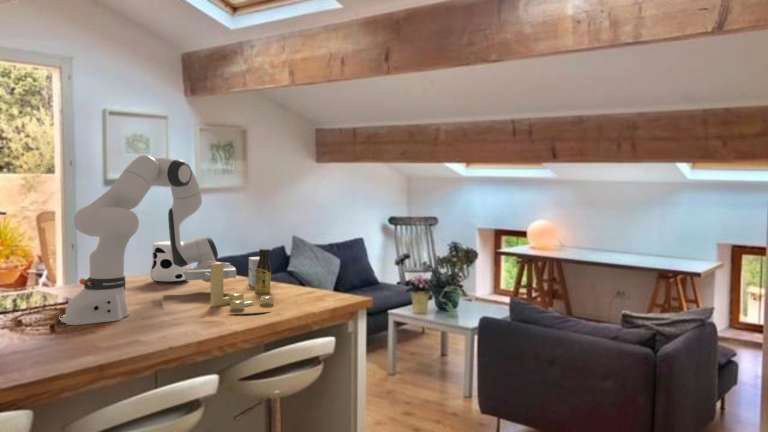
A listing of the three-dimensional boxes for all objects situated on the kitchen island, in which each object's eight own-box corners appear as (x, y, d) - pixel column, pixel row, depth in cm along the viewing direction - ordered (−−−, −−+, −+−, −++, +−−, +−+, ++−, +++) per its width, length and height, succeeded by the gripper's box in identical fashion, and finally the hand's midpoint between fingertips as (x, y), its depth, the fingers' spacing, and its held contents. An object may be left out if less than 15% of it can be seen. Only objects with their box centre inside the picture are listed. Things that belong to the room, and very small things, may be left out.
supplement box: (248, 284, 290) (248, 257, 289) (264, 283, 293) (264, 256, 292) (251, 287, 284) (251, 259, 283) (268, 286, 287) (268, 258, 286)
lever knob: (217, 307, 235) (217, 265, 234) (207, 305, 239) (207, 263, 237) (246, 301, 246) (246, 261, 245) (236, 299, 250) (236, 259, 248)
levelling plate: (237, 318, 225) (237, 306, 224) (205, 308, 240) (205, 296, 240) (287, 309, 241) (287, 298, 240) (254, 300, 256) (254, 289, 255)
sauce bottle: (251, 296, 264) (252, 248, 263) (261, 293, 270) (261, 247, 268) (264, 298, 261) (264, 250, 260) (273, 295, 267) (274, 248, 265)
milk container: (198, 281, 295) (198, 243, 294) (167, 287, 280) (167, 246, 279) (173, 277, 304) (173, 240, 303) (142, 282, 290) (142, 243, 288)
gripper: (182, 264, 259) (184, 270, 246) (233, 262, 266) (238, 267, 254) (182, 279, 260) (184, 286, 247) (233, 277, 267) (238, 283, 254)
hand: (212, 276), depth 250 cm, fingers closed
